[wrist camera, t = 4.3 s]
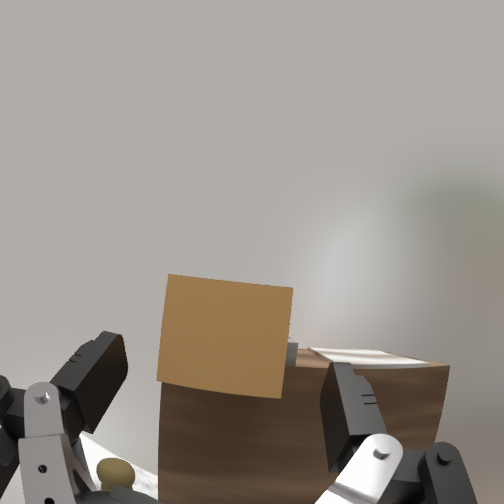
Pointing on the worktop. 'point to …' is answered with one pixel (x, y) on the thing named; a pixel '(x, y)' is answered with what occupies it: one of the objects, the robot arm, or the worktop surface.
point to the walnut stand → (284, 429)
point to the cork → (115, 474)
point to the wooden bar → (224, 336)
